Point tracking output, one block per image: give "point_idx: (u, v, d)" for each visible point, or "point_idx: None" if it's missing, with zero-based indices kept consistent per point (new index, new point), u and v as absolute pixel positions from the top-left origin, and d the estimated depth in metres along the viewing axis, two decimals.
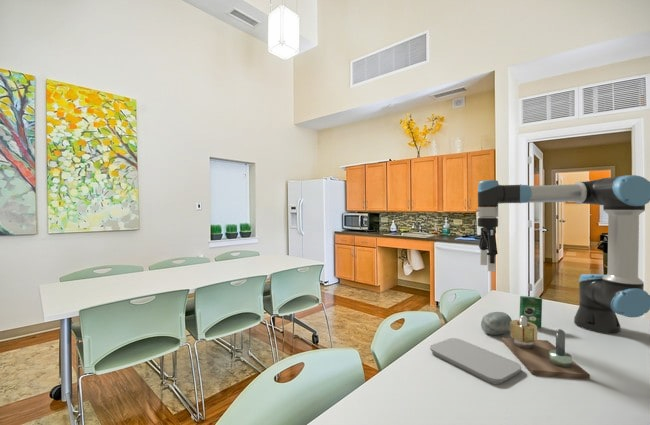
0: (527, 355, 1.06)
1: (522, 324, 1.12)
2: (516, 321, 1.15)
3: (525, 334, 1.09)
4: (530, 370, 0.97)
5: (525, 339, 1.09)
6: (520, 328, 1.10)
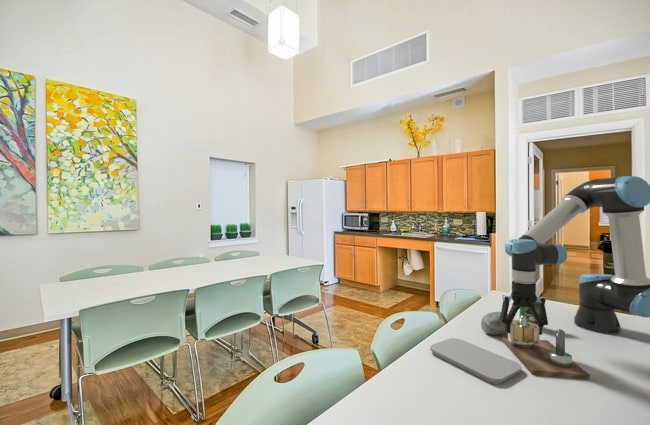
0: (527, 355, 1.06)
1: (522, 324, 1.12)
2: (516, 321, 1.15)
3: (525, 334, 1.09)
4: (530, 370, 0.97)
5: (525, 339, 1.09)
6: (520, 328, 1.10)
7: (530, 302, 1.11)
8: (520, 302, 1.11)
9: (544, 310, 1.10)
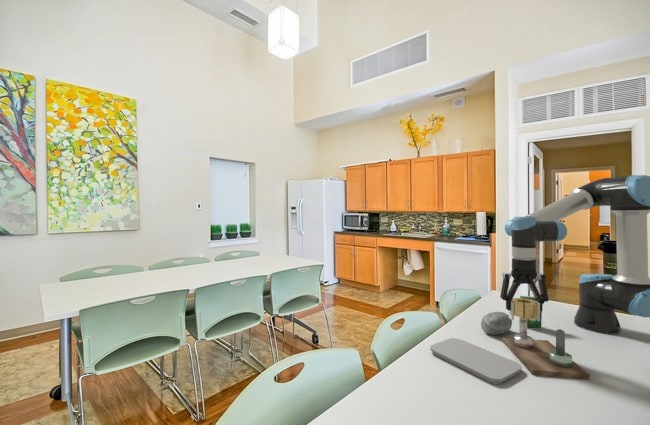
0: (527, 355, 1.06)
1: (522, 324, 1.12)
2: (516, 299, 1.15)
3: (526, 310, 1.09)
4: (530, 370, 0.97)
5: (526, 315, 1.09)
6: (520, 305, 1.10)
7: (530, 278, 1.10)
8: (520, 279, 1.11)
9: (544, 286, 1.10)
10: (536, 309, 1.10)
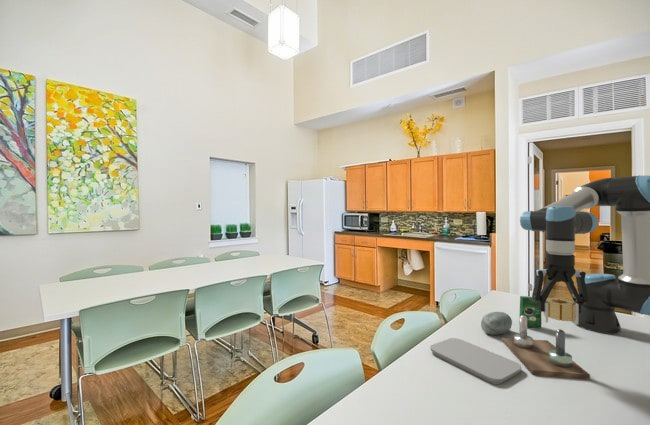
0: (527, 355, 1.06)
1: (522, 324, 1.12)
2: (550, 299, 1.03)
3: (563, 312, 0.96)
4: (530, 370, 0.97)
5: (563, 318, 0.96)
6: (557, 305, 0.97)
7: (567, 276, 0.98)
8: (556, 276, 0.98)
9: (584, 285, 0.97)
10: (574, 310, 0.97)
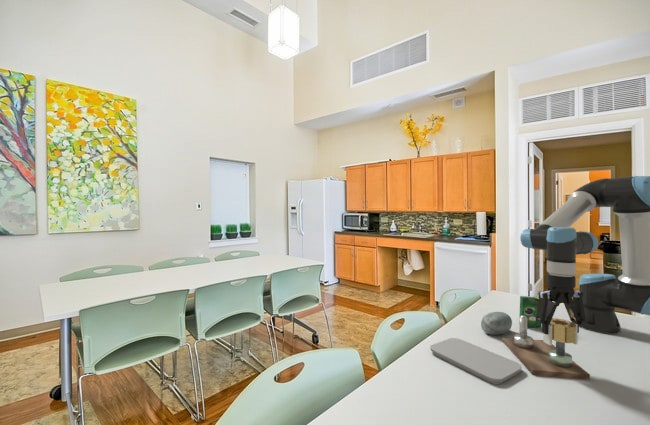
0: (527, 355, 1.06)
1: (522, 324, 1.12)
2: None
3: (567, 334, 0.96)
4: (530, 370, 0.97)
5: (567, 340, 0.96)
6: (562, 328, 0.96)
7: (569, 297, 0.98)
8: (560, 298, 0.98)
9: (582, 305, 0.99)
10: None
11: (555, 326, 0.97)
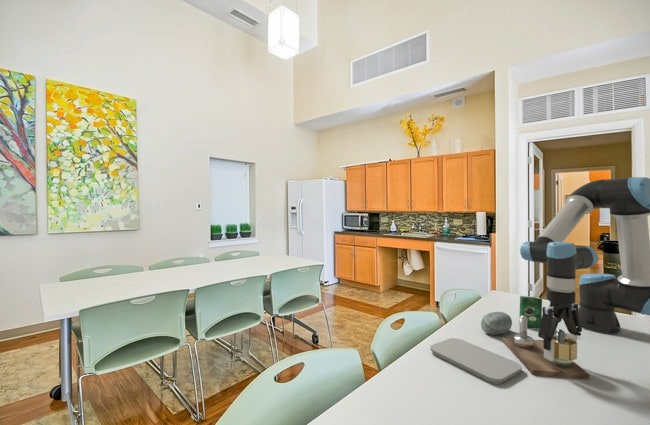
0: (527, 355, 1.06)
1: (522, 324, 1.12)
2: None
3: (571, 351, 0.96)
4: (530, 370, 0.97)
5: (571, 357, 0.96)
6: (566, 346, 0.96)
7: (569, 312, 0.98)
8: (562, 314, 0.97)
9: (578, 317, 1.01)
10: None
11: (559, 344, 0.97)
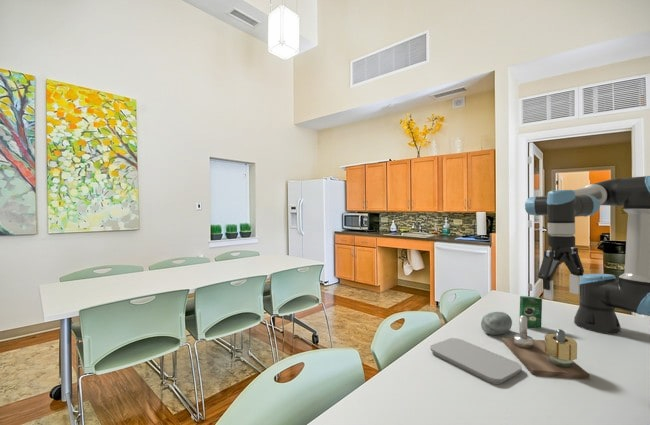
0: (527, 355, 1.06)
1: (522, 324, 1.12)
2: (550, 336, 1.02)
3: (571, 351, 0.96)
4: (530, 370, 0.97)
5: (571, 357, 0.96)
6: (566, 346, 0.96)
7: (570, 256, 1.03)
8: (563, 257, 1.02)
9: (579, 259, 1.06)
10: None
11: (559, 344, 0.97)
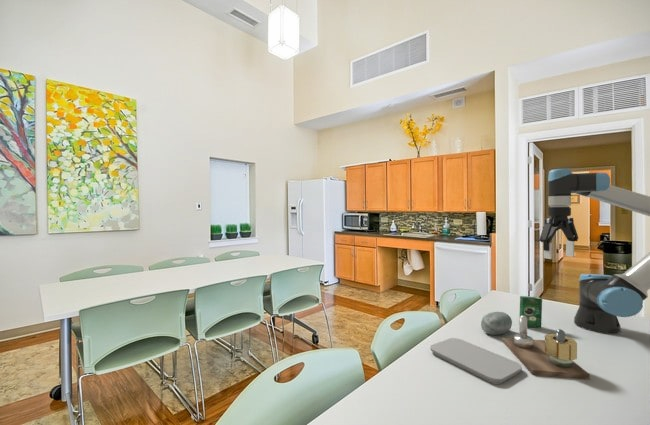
0: (527, 355, 1.06)
1: (522, 324, 1.12)
2: (550, 336, 1.02)
3: (571, 351, 0.96)
4: (530, 370, 0.97)
5: (571, 357, 0.96)
6: (566, 346, 0.96)
7: (566, 223, 1.25)
8: (560, 224, 1.24)
9: (574, 227, 1.28)
10: None
11: (559, 344, 0.97)
